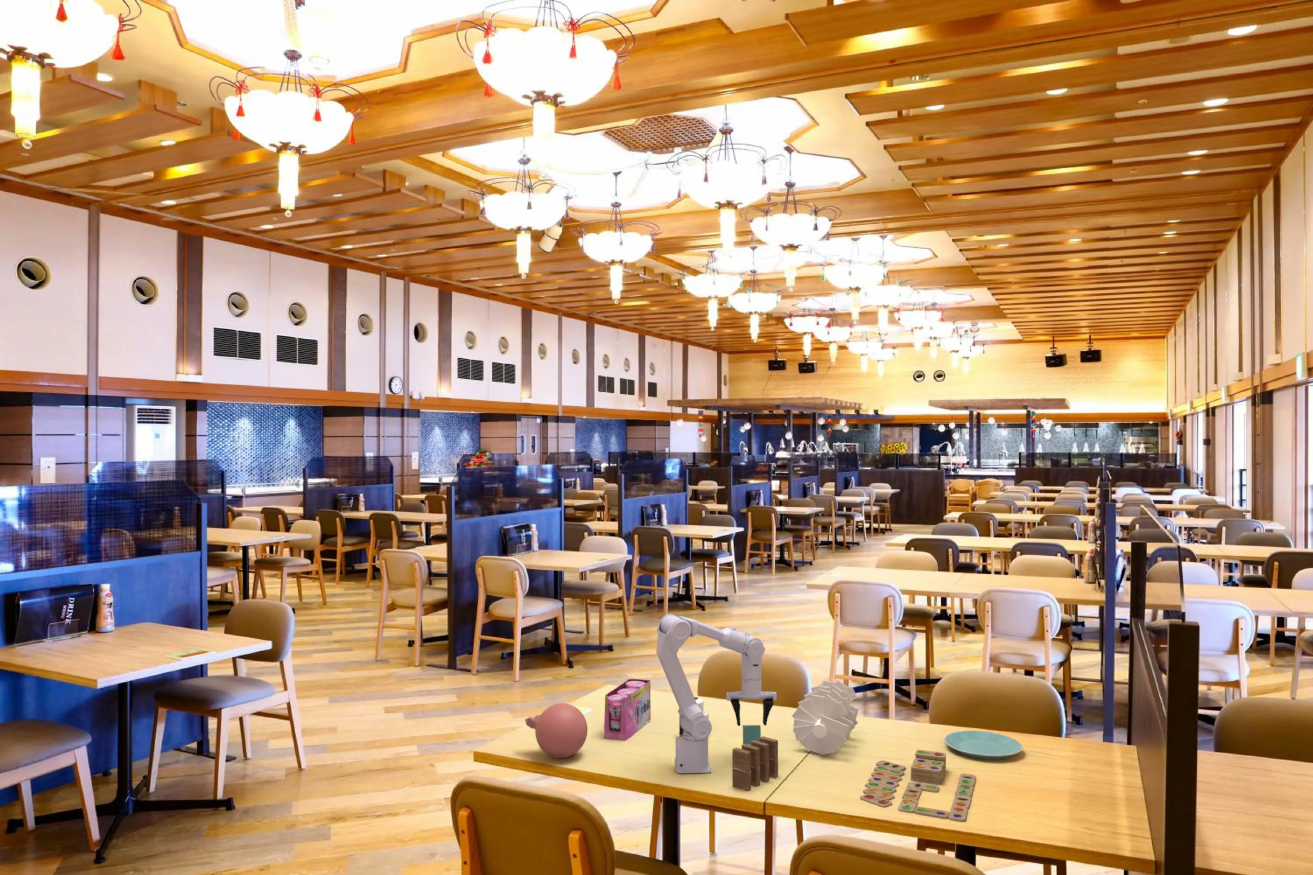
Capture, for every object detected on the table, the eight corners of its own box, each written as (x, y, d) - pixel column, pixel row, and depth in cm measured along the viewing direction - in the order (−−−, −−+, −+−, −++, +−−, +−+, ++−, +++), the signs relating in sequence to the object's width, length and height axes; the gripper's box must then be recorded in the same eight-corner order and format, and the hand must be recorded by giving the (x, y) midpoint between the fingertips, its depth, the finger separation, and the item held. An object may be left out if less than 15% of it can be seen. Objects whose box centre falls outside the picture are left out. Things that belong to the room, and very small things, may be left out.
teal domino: (760, 761, 251) (760, 726, 251) (743, 761, 250) (743, 726, 251) (759, 759, 252) (759, 724, 253) (742, 759, 252) (742, 725, 252)
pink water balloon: (540, 742, 267) (540, 693, 268) (596, 751, 259) (596, 700, 259) (511, 758, 253) (512, 706, 254) (570, 768, 245) (570, 714, 245)
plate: (998, 769, 244) (998, 759, 244) (929, 749, 261) (929, 740, 261) (1036, 752, 258) (1036, 743, 258) (969, 734, 275) (969, 725, 275)
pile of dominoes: (878, 762, 251) (878, 743, 251) (977, 776, 240) (976, 756, 240) (853, 806, 219) (853, 784, 219) (966, 825, 208) (966, 801, 208)
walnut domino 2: (756, 786, 231) (756, 749, 232) (741, 781, 235) (741, 745, 235) (760, 784, 233) (760, 747, 233) (745, 780, 236) (745, 743, 236)
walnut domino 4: (774, 778, 238) (774, 741, 238) (759, 773, 241) (759, 737, 241) (778, 776, 239) (778, 740, 239) (763, 771, 242) (763, 736, 242)
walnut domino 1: (747, 791, 228) (747, 753, 228) (732, 786, 232) (732, 748, 232) (751, 789, 229) (751, 751, 230) (736, 784, 233) (736, 747, 233)
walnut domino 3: (765, 782, 234) (765, 745, 235) (750, 777, 238) (750, 741, 238) (769, 780, 236) (769, 743, 236) (754, 776, 239) (754, 739, 239)
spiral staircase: (805, 769, 255) (820, 739, 278) (859, 750, 249) (870, 721, 272) (778, 711, 258) (795, 686, 281) (831, 691, 252) (844, 667, 275)
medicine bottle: (678, 738, 272) (678, 699, 272) (688, 731, 278) (688, 694, 278) (699, 741, 268) (699, 702, 268) (708, 735, 275) (708, 697, 275)
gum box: (625, 742, 268) (625, 698, 268) (601, 739, 271) (601, 696, 271) (651, 720, 290) (651, 679, 291) (629, 717, 293) (629, 677, 293)
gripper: (773, 673, 256) (773, 719, 256) (725, 674, 256) (725, 720, 255) (777, 680, 249) (778, 727, 249) (728, 680, 249) (728, 728, 248)
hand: (751, 724), depth 252 cm, fingers open, 7 cm apart
